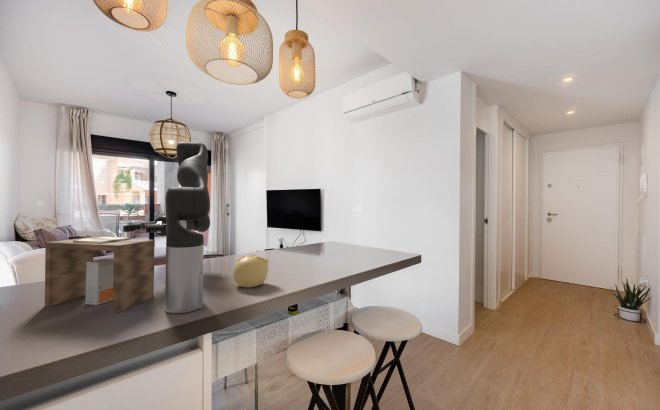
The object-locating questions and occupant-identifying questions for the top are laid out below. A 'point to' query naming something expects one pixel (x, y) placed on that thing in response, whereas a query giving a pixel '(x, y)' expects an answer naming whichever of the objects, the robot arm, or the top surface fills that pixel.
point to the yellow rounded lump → (250, 271)
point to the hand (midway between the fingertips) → (135, 229)
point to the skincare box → (99, 281)
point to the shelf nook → (72, 257)
